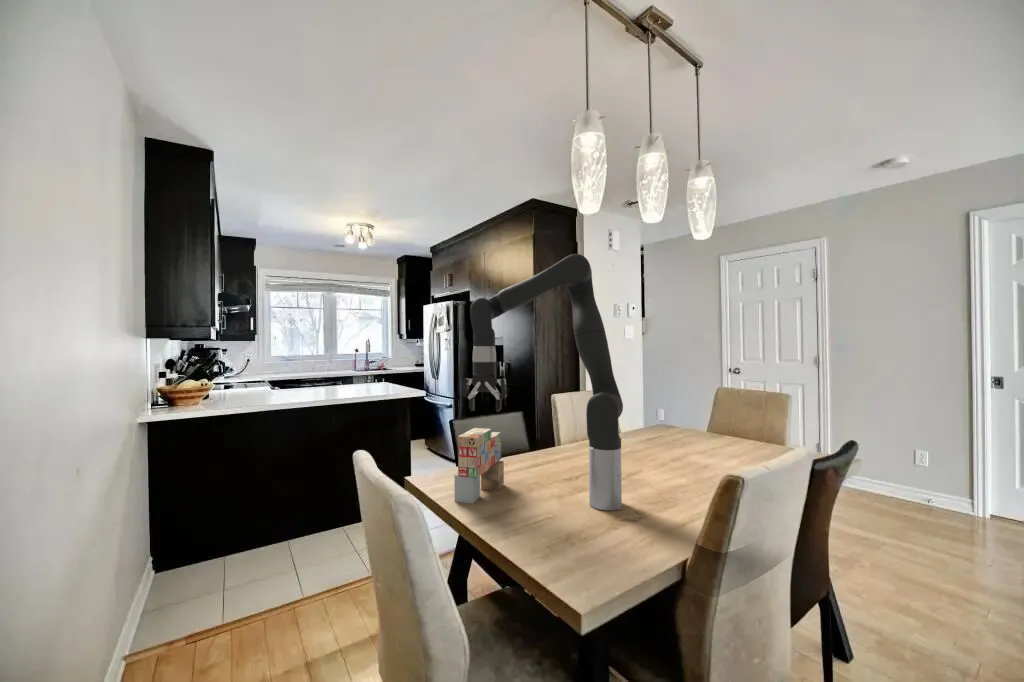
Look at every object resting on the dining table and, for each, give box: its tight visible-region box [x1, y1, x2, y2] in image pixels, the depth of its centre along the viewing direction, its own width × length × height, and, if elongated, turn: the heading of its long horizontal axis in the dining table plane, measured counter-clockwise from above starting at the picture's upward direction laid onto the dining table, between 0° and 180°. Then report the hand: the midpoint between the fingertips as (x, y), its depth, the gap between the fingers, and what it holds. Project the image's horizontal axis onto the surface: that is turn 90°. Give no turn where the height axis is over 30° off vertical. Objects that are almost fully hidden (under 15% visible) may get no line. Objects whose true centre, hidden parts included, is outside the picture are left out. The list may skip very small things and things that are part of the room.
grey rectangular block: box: [454, 472, 481, 504], centre depth 128 cm, size 6×6×8 cm
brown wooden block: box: [480, 460, 505, 491], centre depth 139 cm, size 6×6×8 cm
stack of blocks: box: [457, 427, 502, 478], centre depth 134 cm, size 21×6×12 cm, turn 162°
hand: (485, 410), depth 134 cm, fingers open, 8 cm apart
